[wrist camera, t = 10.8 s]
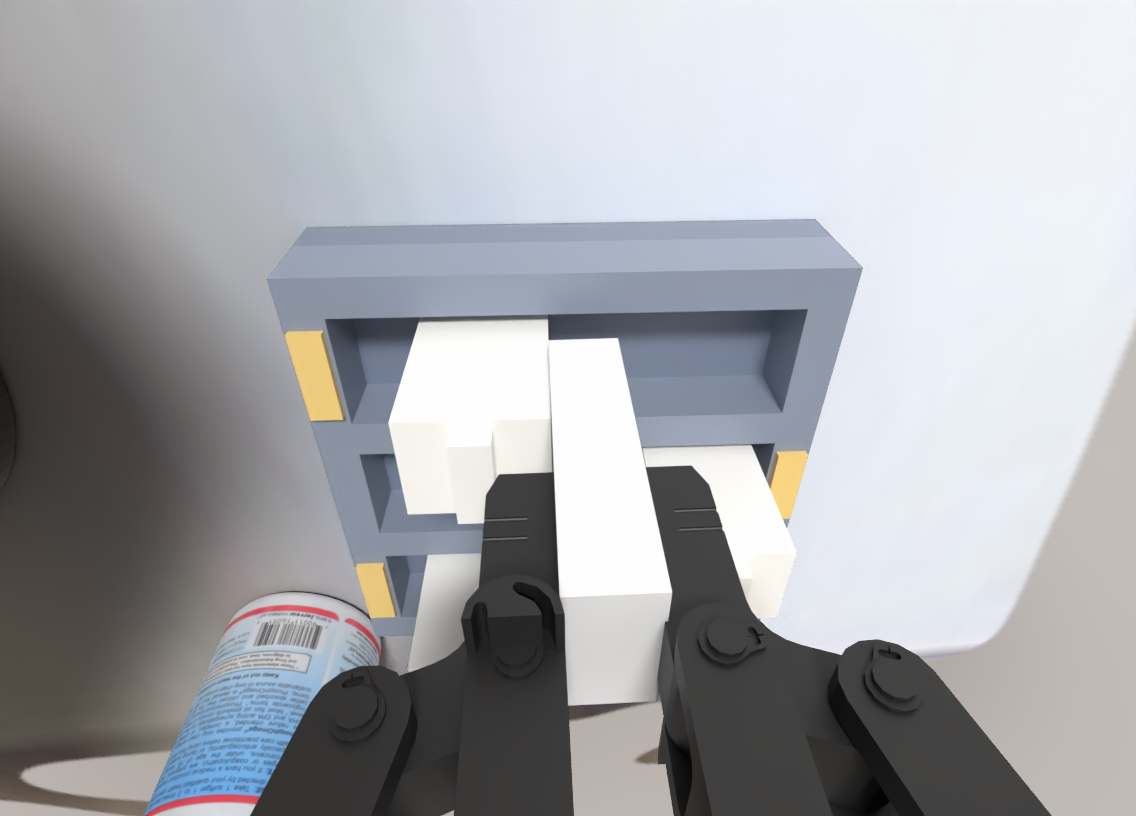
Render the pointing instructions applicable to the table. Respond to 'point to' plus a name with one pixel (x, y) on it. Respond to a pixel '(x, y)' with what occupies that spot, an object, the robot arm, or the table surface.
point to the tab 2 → (443, 606)
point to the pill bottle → (258, 699)
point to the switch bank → (575, 311)
